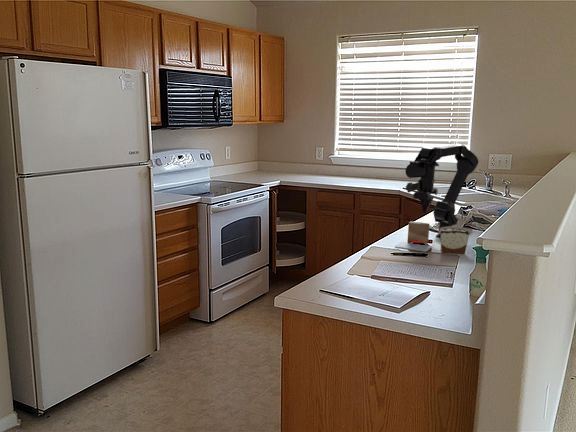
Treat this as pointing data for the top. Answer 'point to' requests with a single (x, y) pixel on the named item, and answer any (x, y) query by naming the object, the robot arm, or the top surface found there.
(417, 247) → the board
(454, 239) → the food container
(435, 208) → the robot arm
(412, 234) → the wooden block
